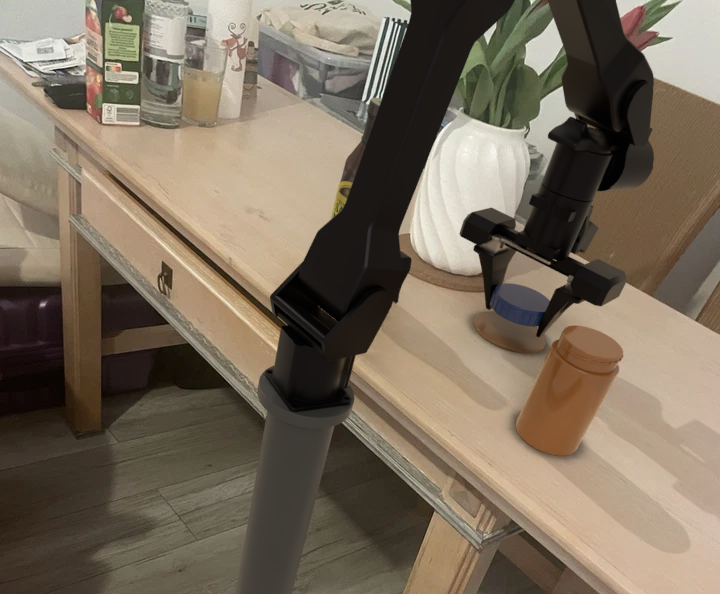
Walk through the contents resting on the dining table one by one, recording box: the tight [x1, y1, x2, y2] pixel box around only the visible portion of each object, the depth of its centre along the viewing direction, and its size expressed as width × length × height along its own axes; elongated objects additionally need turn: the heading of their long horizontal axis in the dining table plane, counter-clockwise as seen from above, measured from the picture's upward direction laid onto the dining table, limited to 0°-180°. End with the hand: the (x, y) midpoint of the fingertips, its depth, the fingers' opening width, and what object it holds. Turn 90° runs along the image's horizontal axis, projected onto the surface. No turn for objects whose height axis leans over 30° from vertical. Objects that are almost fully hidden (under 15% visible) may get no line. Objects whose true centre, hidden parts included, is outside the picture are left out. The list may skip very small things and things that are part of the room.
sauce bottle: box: [329, 97, 383, 221], centre depth 79 cm, size 7×6×20 cm
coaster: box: [473, 311, 547, 354], centre depth 84 cm, size 9×9×1 cm
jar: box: [515, 325, 625, 456], centre depth 65 cm, size 6×6×11 cm
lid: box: [490, 282, 551, 328], centre depth 82 cm, size 7×7×2 cm
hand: (513, 322), depth 83 cm, fingers closed on lid, 7 cm apart
